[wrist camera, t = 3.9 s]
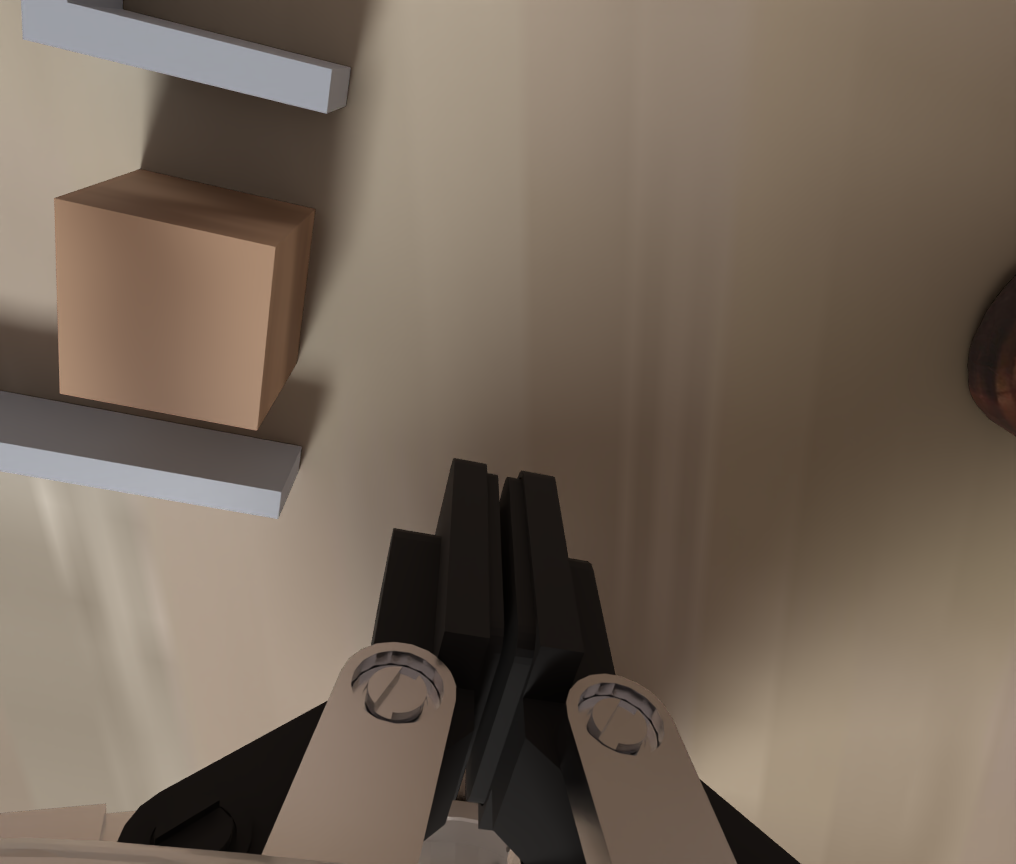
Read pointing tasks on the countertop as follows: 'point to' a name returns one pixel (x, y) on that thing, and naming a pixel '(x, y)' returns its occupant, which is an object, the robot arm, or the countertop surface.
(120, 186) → the block
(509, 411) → the countertop surface
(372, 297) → the countertop surface
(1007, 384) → the mortar and pestle
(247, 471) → the box
